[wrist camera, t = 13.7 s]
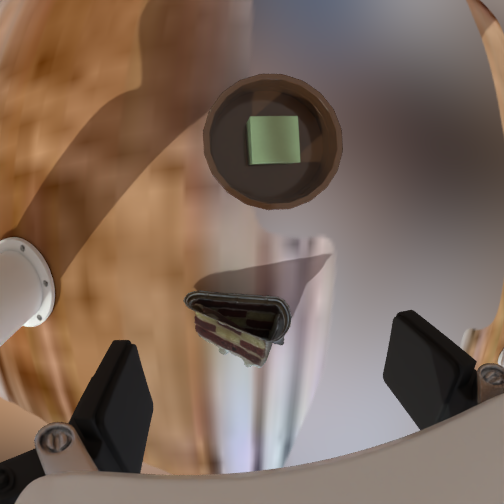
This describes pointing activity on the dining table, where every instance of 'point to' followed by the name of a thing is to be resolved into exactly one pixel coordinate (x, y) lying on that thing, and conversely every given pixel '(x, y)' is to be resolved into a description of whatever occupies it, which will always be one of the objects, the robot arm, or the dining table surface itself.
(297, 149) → the green cube
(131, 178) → the dining table surface
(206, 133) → the bowl
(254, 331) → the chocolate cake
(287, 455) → the dining table surface
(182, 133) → the dining table surface
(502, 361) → the teacup
